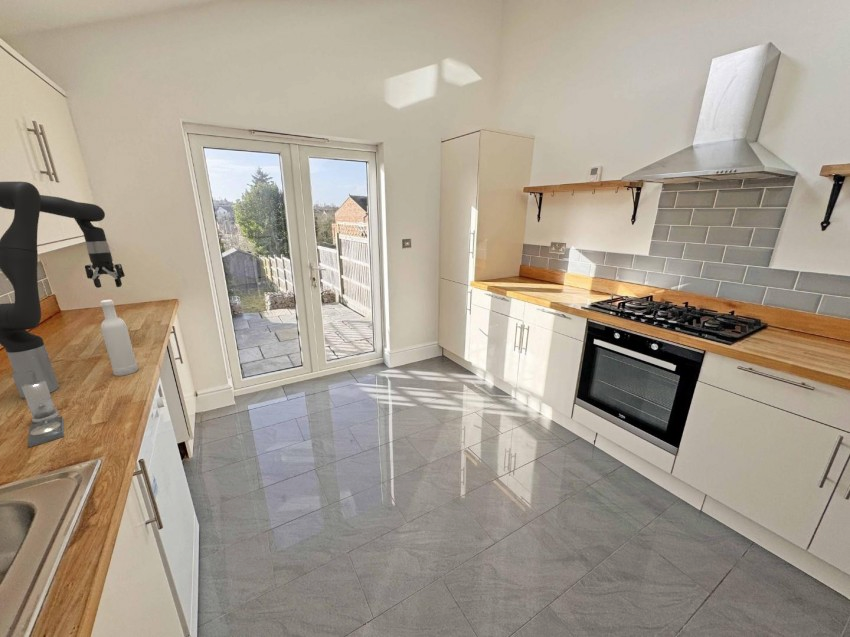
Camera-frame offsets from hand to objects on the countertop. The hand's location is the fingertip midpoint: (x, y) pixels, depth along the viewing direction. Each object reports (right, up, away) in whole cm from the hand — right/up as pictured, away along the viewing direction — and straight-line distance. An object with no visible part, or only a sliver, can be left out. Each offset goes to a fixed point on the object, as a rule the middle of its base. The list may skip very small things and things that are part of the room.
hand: (109, 287), depth 166 cm
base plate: (+33, -48, -59) cm, 83 cm away
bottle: (+24, -36, -19) cm, 47 cm away
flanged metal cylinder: (+24, -46, -51) cm, 73 cm away
